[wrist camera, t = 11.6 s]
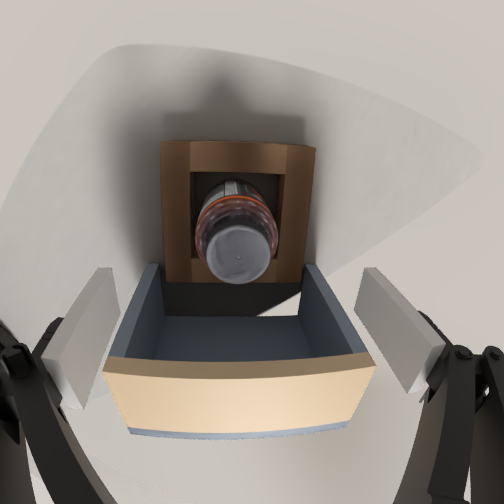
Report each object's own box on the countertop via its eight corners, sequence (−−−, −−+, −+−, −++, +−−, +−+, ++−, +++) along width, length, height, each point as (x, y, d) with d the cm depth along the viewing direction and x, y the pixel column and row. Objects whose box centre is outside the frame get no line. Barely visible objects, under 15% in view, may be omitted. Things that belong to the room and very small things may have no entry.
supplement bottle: (275, 216, 29) (304, 269, 18) (224, 247, 30) (226, 314, 19) (242, 165, 26) (255, 191, 16) (190, 200, 27) (170, 246, 17)
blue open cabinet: (156, 323, 33) (130, 433, 19) (148, 263, 30) (102, 371, 15) (305, 322, 35) (345, 427, 21) (315, 264, 31) (376, 365, 17)
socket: (171, 267, 30) (166, 282, 27) (167, 141, 25) (160, 142, 22) (293, 268, 31) (299, 282, 29) (306, 145, 26) (315, 148, 23)
